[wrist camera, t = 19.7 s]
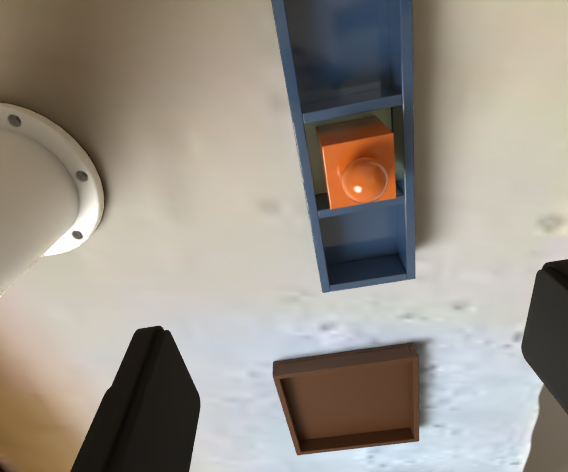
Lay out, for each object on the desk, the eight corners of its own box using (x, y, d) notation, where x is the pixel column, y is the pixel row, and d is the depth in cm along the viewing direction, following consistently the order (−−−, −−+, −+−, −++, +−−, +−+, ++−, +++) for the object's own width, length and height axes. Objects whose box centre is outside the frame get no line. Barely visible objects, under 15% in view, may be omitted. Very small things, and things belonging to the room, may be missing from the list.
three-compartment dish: (318, 269, 34) (322, 293, 31) (270, -10, 23) (268, -15, 20) (403, 255, 33) (415, 278, 30) (394, -39, 22) (412, -48, 19)
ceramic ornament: (323, 181, 29) (335, 228, 22) (315, 126, 27) (326, 160, 20) (378, 171, 29) (408, 216, 22) (375, 114, 26) (406, 145, 20)
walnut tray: (296, 440, 48) (297, 455, 46) (273, 361, 40) (272, 376, 39) (414, 426, 47) (419, 441, 45) (412, 342, 39) (418, 356, 37)
